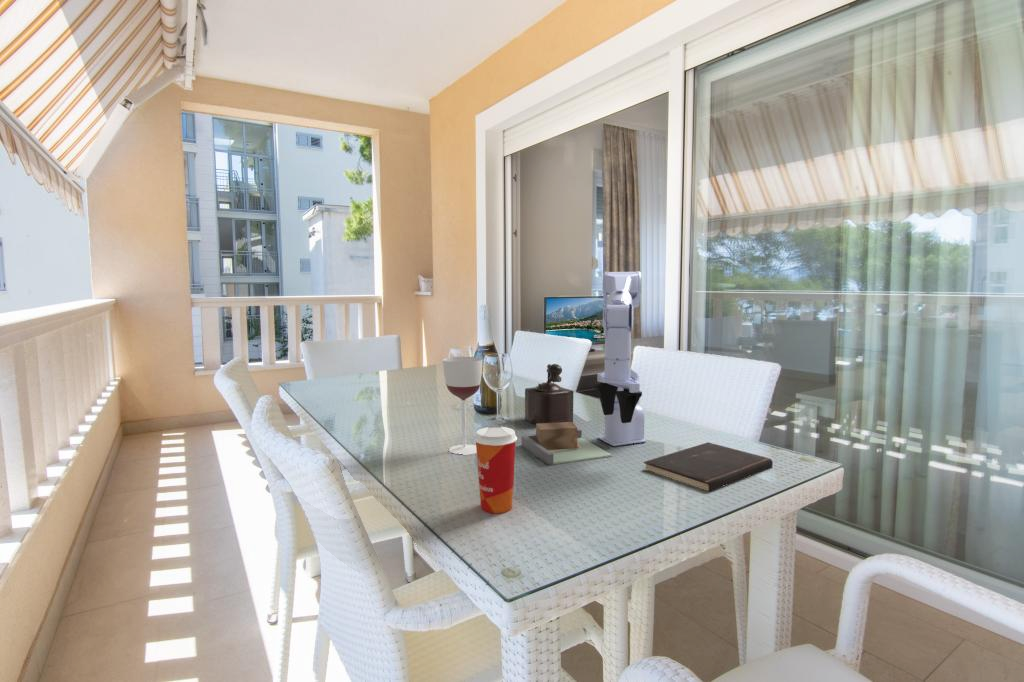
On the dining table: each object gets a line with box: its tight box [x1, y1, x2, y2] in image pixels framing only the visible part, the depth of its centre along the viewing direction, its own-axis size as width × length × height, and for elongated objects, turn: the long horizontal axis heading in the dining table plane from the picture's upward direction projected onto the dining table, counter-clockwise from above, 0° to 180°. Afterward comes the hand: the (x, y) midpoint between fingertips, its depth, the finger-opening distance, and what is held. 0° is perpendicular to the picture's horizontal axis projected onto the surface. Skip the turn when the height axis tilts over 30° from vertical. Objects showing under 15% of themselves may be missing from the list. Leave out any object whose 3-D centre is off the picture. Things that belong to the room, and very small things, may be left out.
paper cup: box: [473, 426, 518, 515], centre depth 99 cm, size 8×8×14 cm
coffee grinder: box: [524, 363, 574, 425], centre depth 156 cm, size 16×11×18 cm
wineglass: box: [442, 356, 483, 456], centre depth 132 cm, size 9×10×22 cm
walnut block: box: [535, 421, 578, 450], centre depth 133 cm, size 9×5×5 cm, turn 97°
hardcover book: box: [643, 442, 774, 492], centre depth 119 cm, size 16×23×2 cm
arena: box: [521, 428, 613, 466], centre depth 132 cm, size 16×16×2 cm
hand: (617, 418), depth 124 cm, fingers open, 7 cm apart
